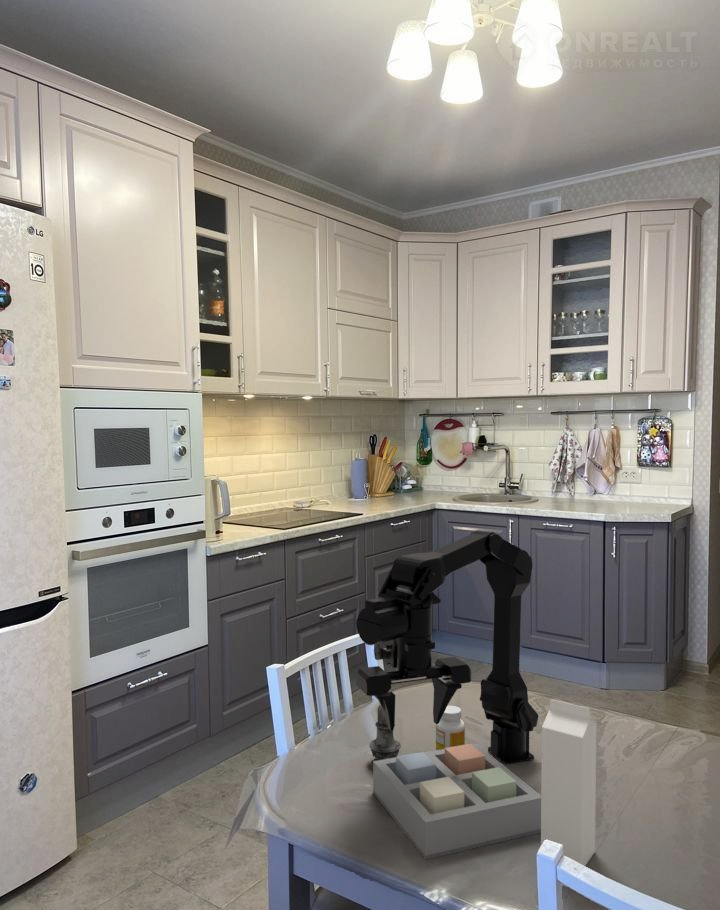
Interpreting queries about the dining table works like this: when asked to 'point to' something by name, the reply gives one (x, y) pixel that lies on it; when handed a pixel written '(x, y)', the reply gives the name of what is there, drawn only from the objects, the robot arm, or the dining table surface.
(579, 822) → the milk
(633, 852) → the dining table surface
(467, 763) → the key terracotta
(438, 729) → the supplement bottle
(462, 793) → the key cream
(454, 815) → the keypad
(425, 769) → the key slate
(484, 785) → the key sage
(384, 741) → the grey chess piece
